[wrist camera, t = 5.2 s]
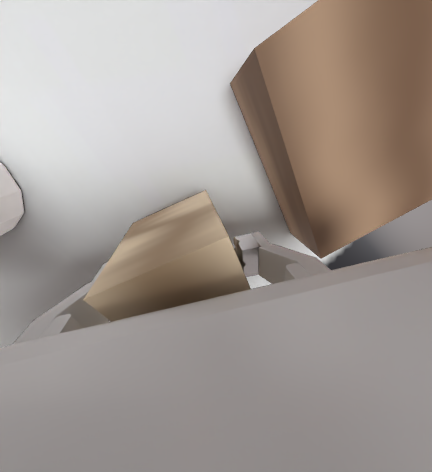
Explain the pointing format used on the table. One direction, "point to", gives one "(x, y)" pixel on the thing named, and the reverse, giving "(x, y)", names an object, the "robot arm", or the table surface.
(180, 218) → the maple block
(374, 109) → the walnut base
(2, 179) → the white cup
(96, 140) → the table surface
